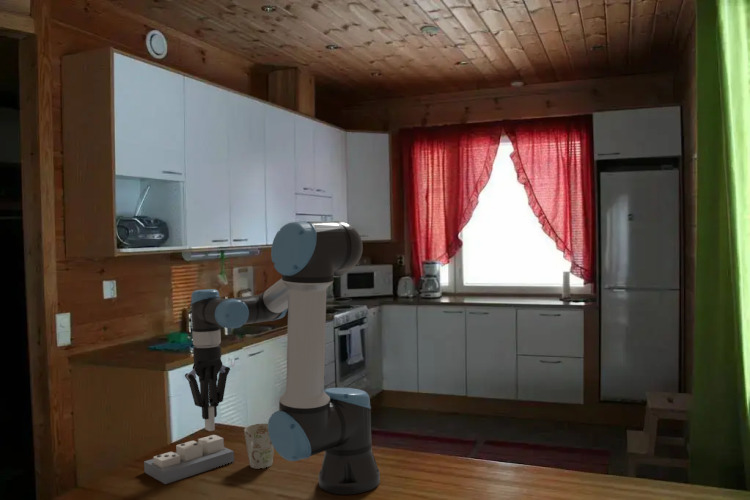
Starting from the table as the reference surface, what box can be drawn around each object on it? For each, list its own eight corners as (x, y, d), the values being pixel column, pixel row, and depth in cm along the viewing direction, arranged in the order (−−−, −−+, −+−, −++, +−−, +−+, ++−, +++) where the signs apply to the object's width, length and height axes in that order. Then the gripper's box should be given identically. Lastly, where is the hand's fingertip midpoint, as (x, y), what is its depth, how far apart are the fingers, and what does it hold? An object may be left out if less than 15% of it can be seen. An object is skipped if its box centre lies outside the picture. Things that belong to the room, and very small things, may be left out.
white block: (224, 451, 170) (223, 437, 170) (207, 456, 166) (207, 442, 166) (214, 447, 174) (214, 433, 173) (198, 452, 170) (198, 438, 170)
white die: (202, 458, 165) (202, 443, 165) (185, 463, 162) (185, 448, 162) (193, 454, 169) (193, 439, 169) (176, 459, 165) (176, 444, 165)
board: (234, 461, 168) (233, 451, 168) (165, 484, 154) (164, 472, 154) (211, 452, 177) (211, 441, 177) (144, 472, 163) (144, 461, 163)
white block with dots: (180, 470, 161) (180, 454, 161) (162, 475, 157) (161, 460, 157) (171, 465, 164) (171, 450, 164) (153, 470, 161) (153, 455, 161)
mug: (280, 459, 169) (278, 423, 169) (267, 477, 157) (266, 438, 156) (250, 459, 170) (249, 423, 170) (236, 476, 157) (234, 438, 157)
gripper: (220, 340, 177) (223, 421, 177) (178, 347, 167) (181, 432, 168) (234, 343, 171) (237, 426, 172) (192, 350, 162) (195, 438, 163)
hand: (210, 429), depth 170 cm, fingers closed
